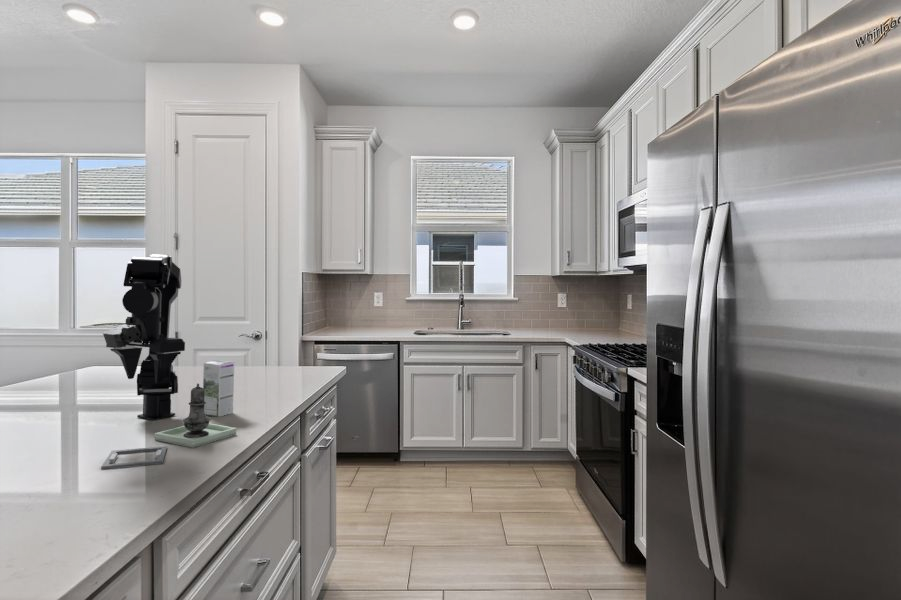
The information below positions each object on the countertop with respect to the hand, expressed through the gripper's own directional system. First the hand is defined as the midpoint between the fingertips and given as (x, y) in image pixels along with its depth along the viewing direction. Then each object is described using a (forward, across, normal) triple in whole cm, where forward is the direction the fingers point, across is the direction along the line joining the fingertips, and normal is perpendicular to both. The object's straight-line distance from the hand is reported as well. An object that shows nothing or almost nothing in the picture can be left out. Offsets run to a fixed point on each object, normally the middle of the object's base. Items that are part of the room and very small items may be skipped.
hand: (144, 380), depth 114 cm
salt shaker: (+13, +10, +6) cm, 17 cm away
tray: (+13, +10, +6) cm, 17 cm away
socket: (+13, +12, -10) cm, 20 cm away
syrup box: (+13, -3, +24) cm, 28 cm away
